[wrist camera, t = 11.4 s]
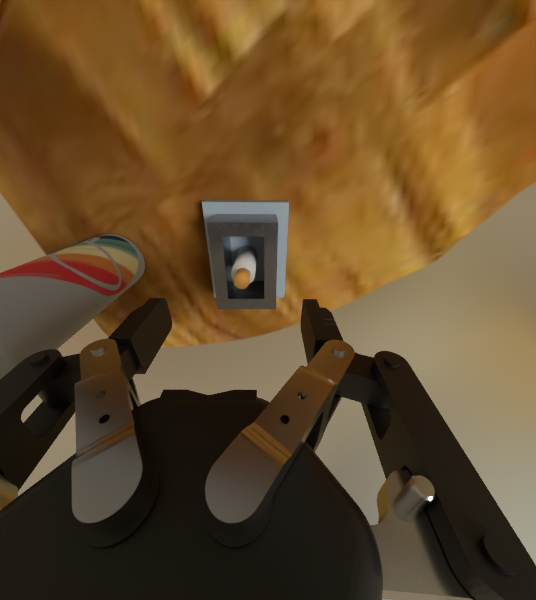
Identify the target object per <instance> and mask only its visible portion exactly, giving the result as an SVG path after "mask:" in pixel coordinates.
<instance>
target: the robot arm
mask: <svg viewBox="0 0 536 600" xmlns="http://www.w3.org/2000/svg"><path fill="white" fill-rule="evenodd" d="M171 327H172V319H171V316H170V312H169V308H168V305H167V301H166V299H164V298H150V299H149V300H148V301H147V302H146V303H145V304H144V305H143V306H141V307H139V308H138V309H136V310H134V311H133V312H132V313H131V314H130V315H129V316H128V317H127V319H125V320H124V321H123V323H122V324H121V325H120V326H119V327H118V328H117V329H116V330H115V331H114V332H113V333H112V334H111V335H110V337H109V338H108V339H102V340H98V341H95V342H93V343H91V344H89V345H87V346H86V347H85V348H84V349H83V350H82V351H81V353H80V354H75V355H70V356H65V357H62V355H61V353H60V352H59V351H58V350H56V349H48V350H43V351H40V352H37V353H34V354H32V355H30V356H29V357H27V358H25V359H24V360H23V361H21V362H20V363H19V364H18V365H17V366H15V367H14V368H13V369H12V370H11V371H10V372H8V373H7V374H6V375H5V376H4V377H3V378H1V379H0V600H382V599H393V600H536V566H535V564H534V562H533V560H532V559H531V557H530V555H529V554H528V552H527V551H526V549H525V547H524V546H523V544H522V543H521V541H520V539H519V538H518V537H517V535H516V533H515V532H514V530H513V528H512V527H511V526H510V524H509V522H508V520H507V519H506V517H505V516H504V514H503V513H502V511H501V509H500V508H499V506H498V505H497V503H496V501H495V500H494V498H493V497H492V495H491V494H490V492H489V490H488V489H487V487H486V486H485V484H484V483H483V481H482V479H481V478H480V476H479V474H478V473H477V471H476V470H475V468H474V467H473V465H472V463H471V462H470V460H469V459H468V457H467V455H466V454H465V452H464V451H463V449H462V448H461V446H460V444H459V443H458V441H457V440H456V438H455V436H454V435H453V433H452V432H451V430H450V429H449V427H448V425H447V424H446V422H445V421H444V419H443V417H442V416H441V414H440V413H439V411H438V409H437V408H436V406H435V405H434V403H433V402H432V400H431V398H430V397H429V395H428V394H427V392H426V390H425V389H424V387H423V386H422V384H421V383H420V381H419V380H418V378H417V376H416V375H415V373H414V371H413V370H412V368H411V367H410V365H409V364H408V362H407V361H406V360H405V359H404V358H403V357H401V356H400V355H398V354H395V353H392V352H389V351H380V352H378V353H376V354H375V357H374V358H372V357H368V356H364V355H360V354H357V353H355V352H354V349H353V348H352V347H351V346H350V345H349V344H347V343H346V342H344V341H343V339H342V336H341V334H340V332H339V329H338V327H337V325H336V322H335V321H334V318H333V315H332V313H331V312H330V311H329V310H328V309H326V308H320V307H319V304H318V302H317V300H316V299H304V300H303V305H302V315H301V333H302V338H303V343H304V348H305V353H306V358H307V362H308V365H307V366H306V367H304V366H300V367H299V368H298V369H297V370H296V372H295V373H294V374H293V375H292V377H291V378H290V379H289V380H288V381H287V383H286V384H285V385H284V386H283V387H282V389H281V390H280V391H279V392H278V393H277V395H276V396H275V397H274V398H273V400H272V401H271V402H268V401H266V400H264V399H261V398H257V390H231V391H227V392H222V393H217V394H213V395H205V394H201V393H197V392H193V391H189V390H163V392H162V394H161V397H160V398H157V399H154V400H151V401H148V402H146V403H144V404H142V405H141V403H140V400H139V397H138V393H137V390H136V386H135V383H134V380H133V378H132V377H133V376H134V375H135V374H145V373H146V371H147V369H148V368H149V366H150V364H151V363H152V361H153V359H154V358H155V356H156V354H157V352H158V351H159V349H160V347H161V346H162V344H163V342H164V341H165V339H166V337H167V335H168V334H169V332H170V330H171ZM37 394H38V395H39V397H40V398H41V399H42V400H43V402H42V403H41V404H40V405H39V406H38V407H37V408H36V410H35V411H34V412H33V413H32V414H31V415H30V416H29V417H28V419H27V420H26V421H25V422H24V423H23V422H22V421H21V414H22V411H23V410H24V408H25V407H26V406H27V405H28V404H29V403H30V402H31V401H32V400H33V399H34V397H35V396H36V395H37ZM342 397H345V398H348V399H351V400H355V401H358V402H361V404H362V407H363V410H364V413H365V416H366V419H367V422H368V425H369V428H370V431H371V434H372V437H373V440H374V444H375V447H376V450H377V453H378V456H379V459H380V462H381V465H382V468H383V471H384V474H385V477H386V481H385V483H384V484H383V486H382V487H381V489H380V490H379V492H378V495H377V506H378V512H379V520H378V524H376V525H369V523H368V521H367V519H366V517H365V515H364V514H363V512H362V511H361V509H360V508H359V506H358V505H357V504H356V502H354V500H353V499H352V498H351V497H350V495H349V494H348V493H347V492H346V490H345V489H344V488H343V487H342V485H341V484H340V483H339V482H338V481H337V479H336V478H335V477H334V476H333V474H332V473H331V472H330V471H329V470H328V468H327V467H326V466H325V465H324V463H323V462H322V461H321V460H320V458H319V457H318V456H317V455H316V454H315V451H316V449H317V447H318V445H319V443H320V441H321V439H322V437H323V434H324V432H325V429H326V427H327V424H328V423H329V421H330V419H331V417H332V415H333V413H334V411H335V410H336V407H337V406H338V404H339V402H340V400H341V398H342ZM74 413H75V415H76V416H75V419H76V453H75V454H74V455H73V456H71V457H70V458H69V459H67V460H66V461H65V462H63V463H62V464H61V465H59V466H58V467H57V468H55V469H54V470H53V471H51V472H50V473H49V474H47V475H46V476H45V477H43V478H42V479H41V480H39V481H38V482H37V483H35V484H34V485H33V486H31V487H30V488H29V489H27V490H26V491H25V492H24V493H22V494H21V495H20V496H18V491H19V489H20V488H21V487H22V485H23V484H24V482H25V481H26V480H27V478H28V477H29V475H30V474H31V473H32V471H33V470H34V468H35V467H36V466H37V464H38V463H39V461H40V460H41V459H42V457H43V456H44V455H45V453H46V452H47V450H48V449H49V448H50V446H51V445H52V443H53V442H54V440H55V439H56V438H57V436H58V435H59V433H60V432H61V431H62V429H63V428H64V427H65V425H66V424H67V422H68V421H69V420H70V418H71V417H72V415H73V414H74ZM17 496H18V497H17Z"/></svg>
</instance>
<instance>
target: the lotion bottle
mask: <svg viewBox="0 0 536 600" xmlns="http://www.w3.org/2000/svg"><path fill="white" fill-rule="evenodd" d="M144 270H145V261H144V258H143V255H142V253H141V252H140V250H139V249H138V248H137V247H136V246H135V245H134V244H133V243H132V242H131V241H129V240H128V239H126V238H124V237H122V236H119V235H114V234H105V235H101V236H97V237H94V238H92V239H89V240H86V241H83V242H81V243H78V244H76V245H73V246H70V247H68V248H65V249H62V250H60V251H57V252H55V253H52V254H49V255H47V256H44V257H41V258H39V259H36V260H34V261H31V262H28V263H26V264H23V265H20V266H18V267H15V268H12V269H10V270H7V271H4V272H2V273H0V379H1V378H3V377H4V376H5V375H6V374H7V373H8V372H10V371H11V370H12V369H13V368H14V367H15V366H17V365H18V364H19V363H20V362H21V361H23V360H24V359H25V358H27V357H29V356H30V355H32V354H34V353H37V352H40V351H43V350H48V349H58V348H59V347H60V346H61V345H62V344H64V343H65V342H66V341H67V340H68V339H69V338H71V337H72V336H73V335H74V334H75V333H76V332H78V331H79V330H80V329H81V328H82V327H84V326H85V325H86V324H87V323H88V322H90V321H91V320H92V319H93V318H94V317H95V316H97V315H98V314H99V313H100V312H101V311H103V310H104V309H105V308H106V307H107V306H108V305H110V304H111V303H112V302H113V301H114V300H116V299H117V298H118V297H119V296H120V295H121V294H123V293H124V292H125V291H126V290H127V289H129V288H130V287H131V286H132V285H133V284H134V283H136V282H137V281H138V280H139V279H140V278H141V276H142V275H143V273H144Z"/></svg>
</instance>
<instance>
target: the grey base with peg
mask: <svg viewBox="0 0 536 600" xmlns="http://www.w3.org/2000/svg"><path fill="white" fill-rule="evenodd" d="M202 208H203V216H204V223H205V231H206V239H207V246H208V254H209V262H210V269H211V277H212V285H213V293H214V297H216V292H215V284H214V276H213V268H212V260H211V252H210V244H209V236H208V228H207V222H208V221H209V220H210V219H211V218H212V217H214V216H215V215H216V214H276V215H277V219H278V249H277V285H276V297H284V292H285V273H286V253H287V234H288V214H289V202H288V201H263V200H205V201H202ZM230 241H231V254H232V267H233V268H232V271H231V276H232V279H233V280H234V285H235V286H236V287H237V288H239V289H245V288H247V287H248V285H249V284H250V283H251V282H252V281H264V237H230Z"/></svg>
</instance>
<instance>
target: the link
mask: <svg viewBox="0 0 536 600" xmlns="http://www.w3.org/2000/svg"><path fill="white" fill-rule="evenodd" d="M207 228H208V236H209V244H210V252H211V260H212V268H213V276H214V284H215V292H216V300H217V307H218V309H276V285H277V249H278V219H277V215H276V214H216V215H215V216H214V217H212V218H211V219H210V220H209V221H208V222H207ZM230 237H264V281H252V282H251V283H250V284H249V285H248V287H247V288H245V289H239V288H237V287H236V286H235V285H234V280H233V279H232V276H231V271H232V268H233V267H232V254H231V241H230Z"/></svg>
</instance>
